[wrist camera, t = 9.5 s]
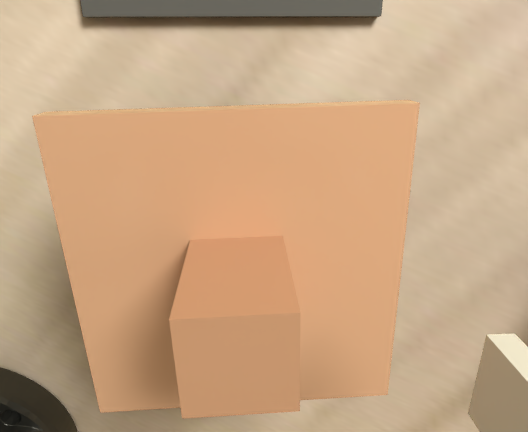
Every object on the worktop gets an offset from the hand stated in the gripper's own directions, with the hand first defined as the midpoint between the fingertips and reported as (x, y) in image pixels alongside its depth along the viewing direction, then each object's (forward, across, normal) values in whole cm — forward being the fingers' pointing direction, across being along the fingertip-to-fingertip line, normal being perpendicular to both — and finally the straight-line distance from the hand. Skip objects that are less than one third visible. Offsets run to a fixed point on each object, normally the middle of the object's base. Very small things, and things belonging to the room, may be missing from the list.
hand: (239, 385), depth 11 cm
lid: (+7, 0, 0) cm, 7 cm away
